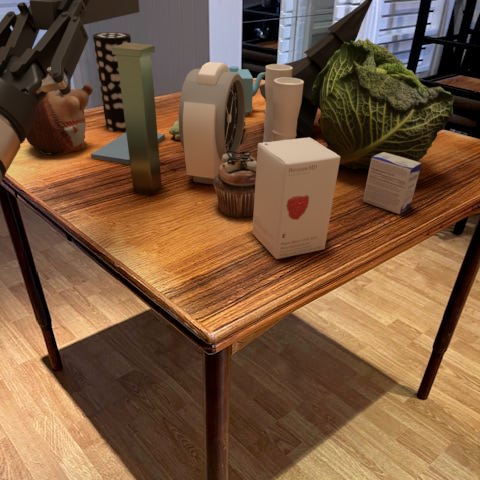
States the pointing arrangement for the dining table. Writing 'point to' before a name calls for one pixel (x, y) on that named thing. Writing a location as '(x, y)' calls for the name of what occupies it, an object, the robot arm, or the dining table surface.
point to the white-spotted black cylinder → (110, 78)
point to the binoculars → (281, 103)
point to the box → (391, 182)
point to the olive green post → (140, 115)
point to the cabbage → (376, 106)
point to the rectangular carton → (293, 195)
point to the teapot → (248, 85)
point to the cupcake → (236, 184)
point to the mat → (117, 150)
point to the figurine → (60, 122)
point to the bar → (98, 8)
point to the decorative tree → (322, 62)
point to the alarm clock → (210, 118)
